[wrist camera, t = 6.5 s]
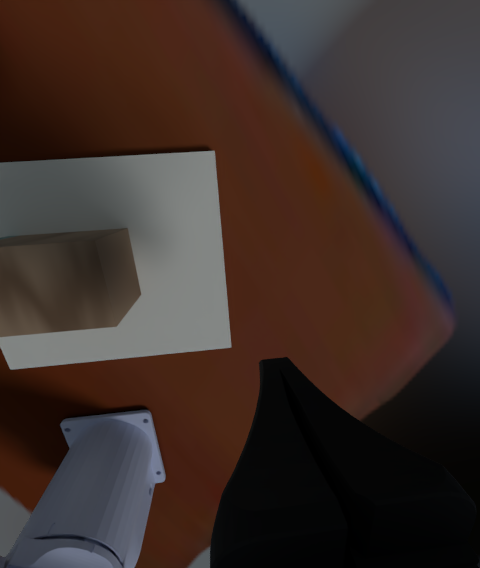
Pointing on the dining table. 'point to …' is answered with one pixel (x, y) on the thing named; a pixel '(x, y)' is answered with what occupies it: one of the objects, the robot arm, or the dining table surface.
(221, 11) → the dining table surface
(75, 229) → the mat
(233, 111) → the dining table surface
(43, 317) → the teal and wood block
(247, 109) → the dining table surface
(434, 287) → the dining table surface
